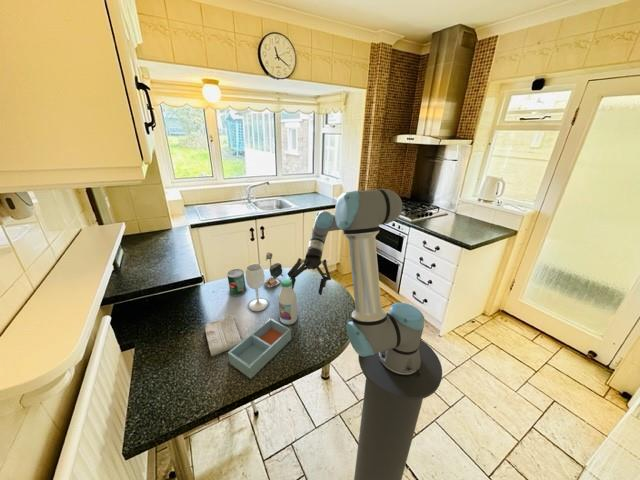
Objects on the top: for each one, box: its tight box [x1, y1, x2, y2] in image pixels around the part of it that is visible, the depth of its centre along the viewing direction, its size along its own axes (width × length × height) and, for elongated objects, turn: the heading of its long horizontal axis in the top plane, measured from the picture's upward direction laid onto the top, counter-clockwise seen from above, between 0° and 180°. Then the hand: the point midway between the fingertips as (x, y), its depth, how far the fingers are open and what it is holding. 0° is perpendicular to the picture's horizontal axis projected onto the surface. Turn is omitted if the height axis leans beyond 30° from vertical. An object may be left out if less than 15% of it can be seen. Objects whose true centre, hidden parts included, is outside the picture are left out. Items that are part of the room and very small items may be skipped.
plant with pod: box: [264, 252, 284, 288], centre depth 135 cm, size 8×11×20 cm
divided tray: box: [227, 317, 292, 380], centre depth 96 cm, size 11×21×5 cm, turn 146°
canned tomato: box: [226, 268, 247, 297], centre depth 130 cm, size 8×8×11 cm
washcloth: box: [204, 315, 242, 357], centre depth 103 cm, size 12×18×3 cm, turn 30°
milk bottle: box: [278, 278, 298, 325], centre depth 109 cm, size 8×8×20 cm
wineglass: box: [245, 263, 269, 312], centre depth 117 cm, size 9×9×21 cm
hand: (305, 292), depth 111 cm, fingers open, 13 cm apart
